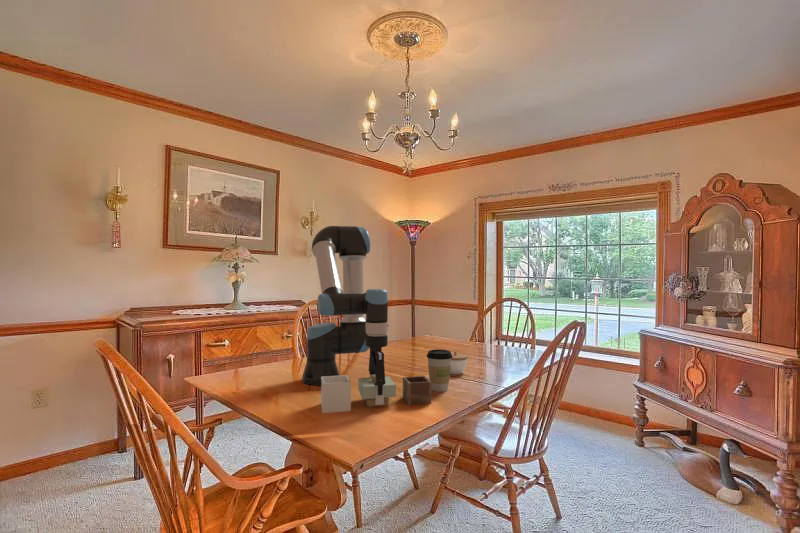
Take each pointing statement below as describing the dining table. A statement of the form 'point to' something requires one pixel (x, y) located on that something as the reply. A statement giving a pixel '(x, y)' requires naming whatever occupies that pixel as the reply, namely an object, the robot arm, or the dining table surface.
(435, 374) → the coffee cup
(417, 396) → the walnut box
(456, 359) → the lidded jar
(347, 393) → the planter
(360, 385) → the lid
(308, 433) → the dining table surface
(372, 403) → the oak stand
